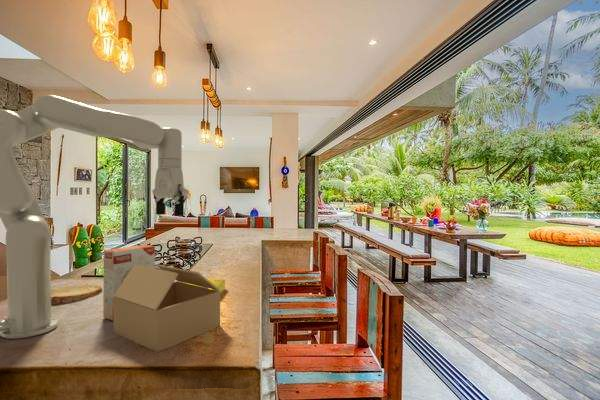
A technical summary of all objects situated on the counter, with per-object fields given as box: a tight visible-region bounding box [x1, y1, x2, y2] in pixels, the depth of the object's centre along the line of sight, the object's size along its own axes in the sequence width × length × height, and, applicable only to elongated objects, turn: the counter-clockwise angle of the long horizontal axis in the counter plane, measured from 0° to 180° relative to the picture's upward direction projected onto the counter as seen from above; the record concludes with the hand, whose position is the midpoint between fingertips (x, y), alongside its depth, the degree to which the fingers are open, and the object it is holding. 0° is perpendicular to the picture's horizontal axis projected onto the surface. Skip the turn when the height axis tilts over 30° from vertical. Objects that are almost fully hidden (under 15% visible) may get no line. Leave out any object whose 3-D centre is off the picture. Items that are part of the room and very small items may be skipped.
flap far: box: [155, 263, 219, 291], centre depth 102 cm, size 10×19×1 cm
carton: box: [113, 280, 221, 353], centre depth 97 cm, size 20×20×10 cm
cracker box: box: [102, 244, 156, 322], centre depth 110 cm, size 14×6×21 cm, turn 148°
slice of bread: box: [51, 283, 103, 306], centre depth 126 cm, size 18×18×4 cm
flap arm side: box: [113, 264, 178, 310], centre depth 91 cm, size 10×19×1 cm
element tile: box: [187, 278, 226, 297], centre depth 131 cm, size 15×15×5 cm
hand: (169, 214), depth 119 cm, fingers open, 9 cm apart
